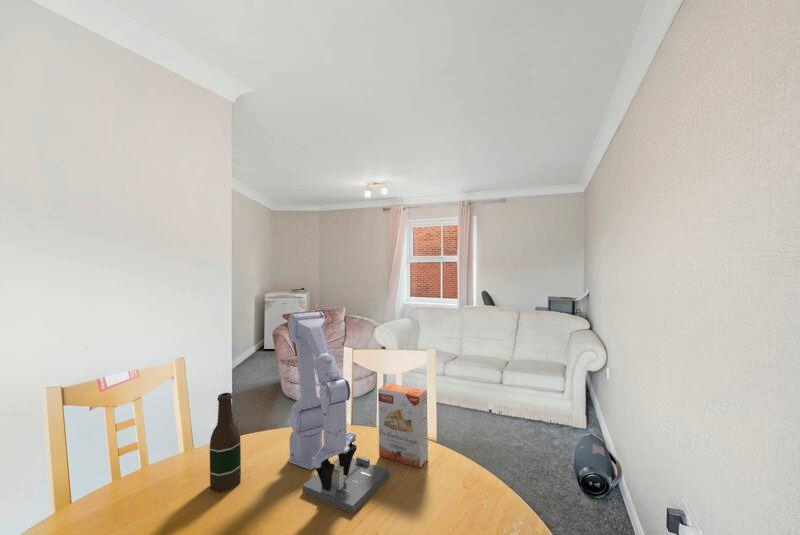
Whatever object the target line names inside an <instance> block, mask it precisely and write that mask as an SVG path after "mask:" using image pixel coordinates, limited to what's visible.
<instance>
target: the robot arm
mask: <svg viewBox="0 0 800 535" xmlns="http://www.w3.org/2000/svg"><path fill="white" fill-rule="evenodd" d="M326 322H327V321H326V316H325V314H324V313H323V311H314V312H313V311H312V312H304V313H291V314H290V315H289V316H288V326H287V327H288V337H289V341H290V342H293V343H294V345H295V350H296V360H297V361H296V362H297V372H298V373H297V374H298V385H299V398H298V399H297V401H296V402H295V403H294V404H293V405H292V406H291V415H290V423H291V425H290V426H291V428H292V431H291V433H290V436H289V458H288V459H287V462H288V463H290V464H293V465H295V466H298V467H301V468H303V469H307V470H309V471H312V470H313V469H315V472H317V474H318V475H319V478H320V481H321V484H322V488H323V489H324V490H326V491H330V490H331V486H332V474H333V470H334V467H335V464H332V463H333V462H331V460H329V459H330V458H333V457H335V456H338V458H339V466H342V467H343V475H345V476H347V475H348V473H349V469H350V465H351V461H352V458H353V457H354V455H355V453H356V451H357V445H356V444H354V443H355V442H356V441H357V439H356V437H357V434H356V433H354V432H348V430H347V424H348V422H347V401H349V400H350V399H351V386H350V384H349V380H348V379H347V378H346V377H345V376H344V375H345V374H342V373H341V372H340V369H339V366H338V363H337V361H336V359H335V356H334V355H332V354H329V350H328V346H327V342H326V338H325V335H324V333H325V331H326V330H325V329H326ZM314 358H315V360H314ZM316 377H317V379H318V383H319V391H318V394H319V395H318V394H317V384H316ZM347 432H348V433H347ZM353 459H354V458H353Z"/></svg>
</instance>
